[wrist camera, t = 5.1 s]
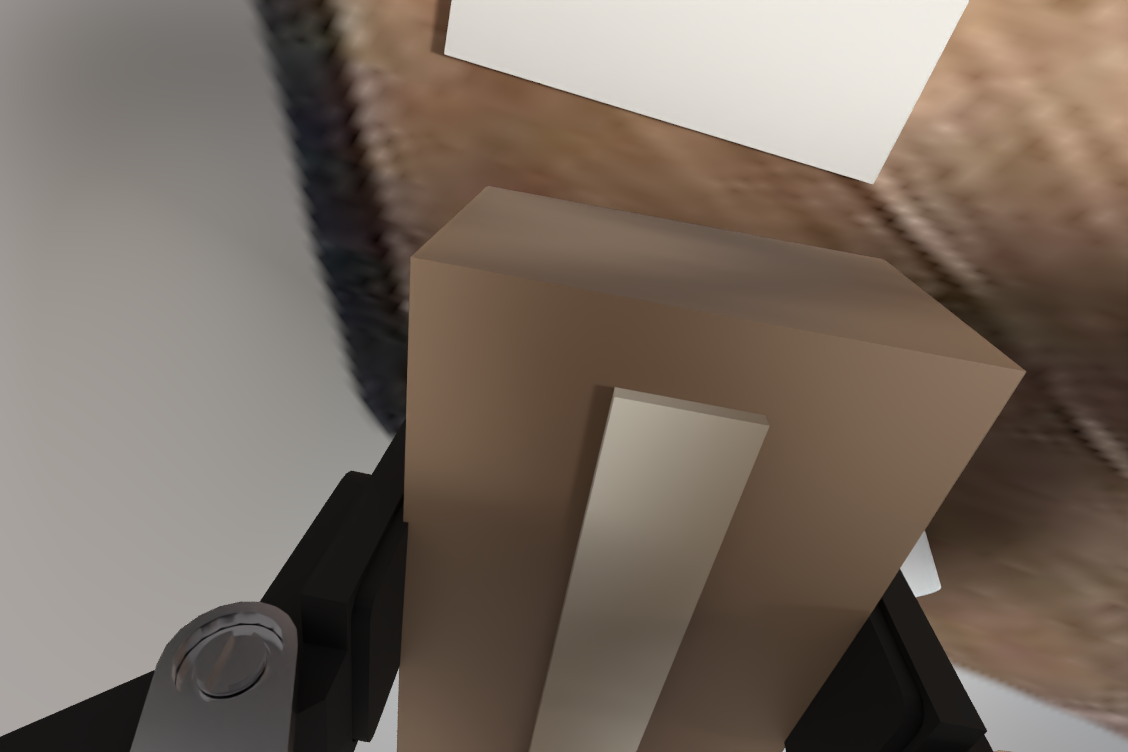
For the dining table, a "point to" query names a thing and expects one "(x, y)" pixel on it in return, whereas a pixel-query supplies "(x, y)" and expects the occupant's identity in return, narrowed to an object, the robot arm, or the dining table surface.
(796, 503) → the slotted tan block
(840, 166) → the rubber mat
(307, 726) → the robot arm
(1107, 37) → the dining table surface
